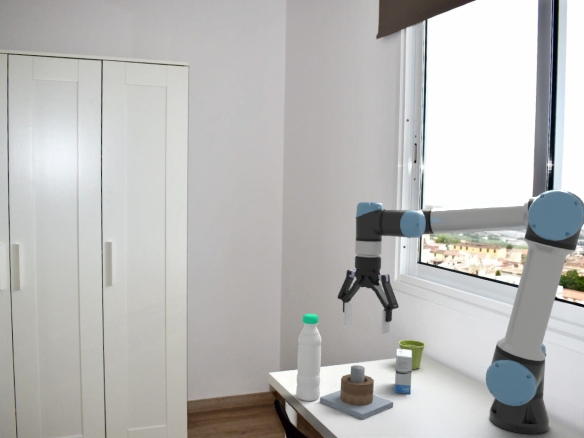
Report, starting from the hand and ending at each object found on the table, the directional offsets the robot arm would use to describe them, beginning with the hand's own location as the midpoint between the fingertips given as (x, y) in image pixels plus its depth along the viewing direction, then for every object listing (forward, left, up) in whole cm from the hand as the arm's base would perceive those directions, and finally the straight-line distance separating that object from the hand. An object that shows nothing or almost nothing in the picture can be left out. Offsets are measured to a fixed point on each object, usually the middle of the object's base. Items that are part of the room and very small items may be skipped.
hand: (366, 328), depth 160 cm
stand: (+1, +1, -23) cm, 23 cm away
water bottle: (+14, +8, -23) cm, 28 cm away
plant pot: (+11, -42, -23) cm, 49 cm away
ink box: (0, -21, -23) cm, 31 cm away
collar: (+1, +1, -21) cm, 21 cm away
